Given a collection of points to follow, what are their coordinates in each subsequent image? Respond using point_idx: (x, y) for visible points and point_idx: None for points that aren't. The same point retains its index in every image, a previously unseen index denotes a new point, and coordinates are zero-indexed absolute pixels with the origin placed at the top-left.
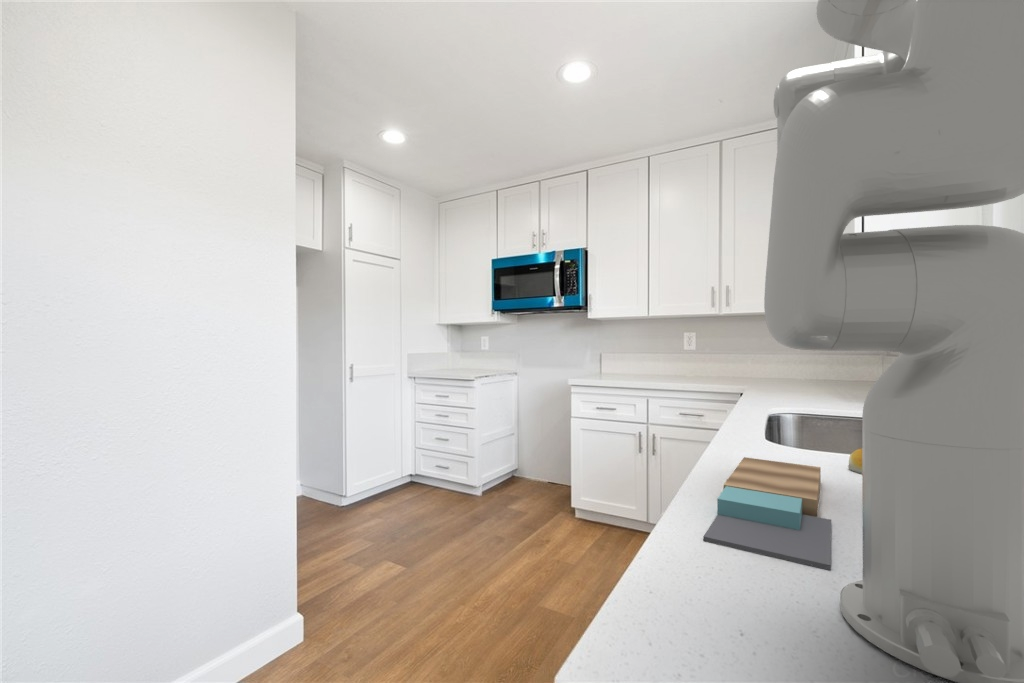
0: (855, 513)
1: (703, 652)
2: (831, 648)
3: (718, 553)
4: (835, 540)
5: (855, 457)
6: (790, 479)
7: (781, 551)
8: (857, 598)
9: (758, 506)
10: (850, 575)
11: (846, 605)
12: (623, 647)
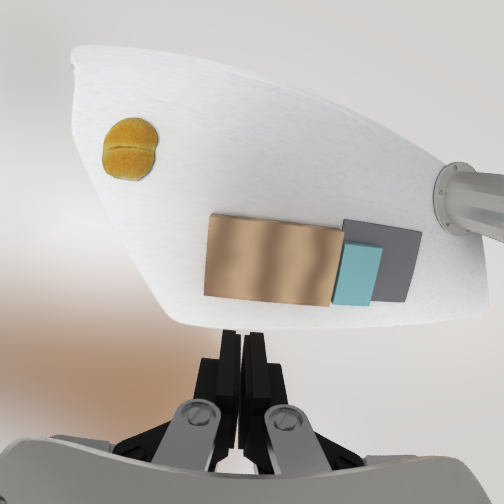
0: (307, 195)
1: (480, 283)
2: (473, 241)
3: (416, 290)
4: (376, 221)
5: (136, 174)
6: (283, 250)
7: (413, 258)
8: (457, 228)
9: (376, 276)
10: (422, 222)
11: (462, 234)
12: (480, 306)
